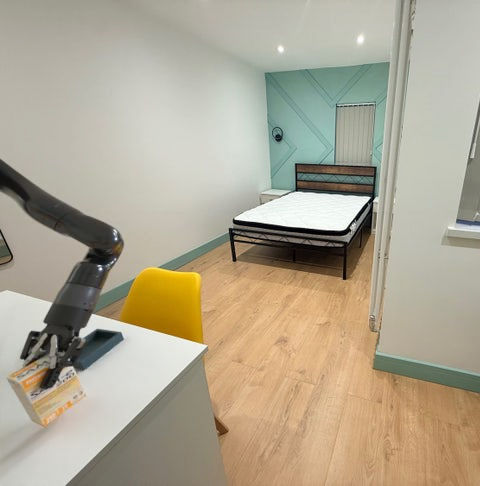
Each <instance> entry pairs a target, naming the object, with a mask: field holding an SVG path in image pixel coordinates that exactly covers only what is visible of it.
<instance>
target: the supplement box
mask: <svg viewBox="0 0 480 486" xmlns="http://www.w3.org/2000/svg"><path fill="white" fill-rule="evenodd" d="M62 353H63V352H62ZM49 354H50V353H49ZM49 354H47V355H45V356H43V357H42V358H40V359H38V360H36V361H34V362H33V363H31V364H29V365H27V366H25V365H24V367H22V368H20V369H18V370H16V371H15V372H13V373H11V374H9V375H7V376H6V377H5V379H6V380H7V382H8V383H9V385H10V387H11V389H12V391H13V392H14V393H15V395H16V397H17V399H18V400H19V402H20V403H21V405H22V407H23V409H24V410H25V412H26V413H27V415H28V417H29V419H30V420H31V421H32V422H34V423H35V424H37V425H39V426H41V427H43V428H45V427H47V426H48V425H49V424H51V423H52V422H53V421H54V420H56V419H57V418H59V416H61V415H62V414H63V413H65V412H66V411H67V410H69V409H70V408H71V407H73V406H74V405H76V404H77V403H78V402H80V401H81V400H83V399H84V398H85V397H87V394H86V391H85V389H84V387H83V385H82V382H81V381H80V379H79V376H78V374H77V372H76V370H75V368H73V366H72V367H65V368H63V369H62V371H61V373H60V375H59V377H58V380H57V382H56V383H55V385H54V386H53V387H52V388H48V389H41V388H39V386H40V384H41V382H42V380H43V378H44V376H45V374H46V372H47V370H48V369H50V363H51V358H50V357H49ZM61 359H62V357H59V359H58V362H60V360H61ZM68 360H70V359H68Z"/></svg>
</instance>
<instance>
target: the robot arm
mask: <svg viewBox="0 0 480 486" xmlns="http://www.w3.org/2000/svg"><path fill="white" fill-rule="evenodd" d="M0 193H1V194H3V195H5V196H7V197H8V198H10V199H11V200H12V201H14V202H15V203H16V204H17V205H18V206H19V208H20V209H21V210H22V211H23V213H24V214H25V215H27V217H30V219H31V220H33V221H35V222H36V223H38V224H39V225H42V226H43V227H45V228H47V229H49V230H51V231H53V232H55V233H57V234H59V235H62V236H64V237H66V238H72V239H73V240H75V241H77V242H79V243H80V244H82V245H84V246H85V247H87V248H88V250H87V251H86V253H85V255H84V256H83V258H82V260H79V261H78V262H76V263H75V264H74V266H73V267H72V269H71V270H70V272H69V274H68V275H67V278H66V280H65V282H64V284H63V285H62V287H61V288H60V289H59V291H58V292H57V294H56V296H55V298H54V300H53V301H52V304H51V305H50V307H49V309H48V311H47V313H46V314H45V317H44V318H43V321H42V322H43V324H45V325H46V326H45V327H44V328H43V329H42V330H30V331H29V332H28V335H27V338H26V340H25V343H24V344H23V348H22V350H21V354H20V356H19V359H20V360H23V361H24V364H25V365H24V367H25V366H27V365H29V364H31V363H33V362H34V361H36V360H38V359H40V358H42V357H43V356H45V355H47V354H49V353H50V354H49V357H50V358H51V363H50V369H48V370H47V372H46V374H45V376H44V378H43V380H42V382H41V384H40V386H39V388H41V389H48V388H52V387H53V386H54V385H55V383H56V382H57V380H58V377H59V375H60V373H61V371H62V369H63V368H65V367H72V366H73V365H74V364H75V363H76V361H77V359H78V358H79V356H80V355H81V353H82V351H83V350H84V348H85V347H86V345H87V343H88V342H89V340H88V339H84V337H80V332H81V329H84V328H86V327H87V326H88V324H89V321H90V319H91V317H92V315H93V313H94V310H95V309H96V306H97V304H98V302H99V300H100V296H101V293H102V290H103V288H104V286H105V284H106V282H107V280H108V277H109V274H110V272H111V270H112V269H113V267H114V266H115V264H116V263H117V262H118V260H119V258H120V257H121V255H122V253H123V250H124V248H125V240H124V238H123V236H122V234H121V232H120V231H119V230H118V229H117V228H116V227H114V226H112V225H111V224H110V223H107V222H105V221H103V220H101V219H98V218H95V217H94V216H90V215H88V214H86V213H84V212H83V211H81V210H79V209H78V208H76V207H74V206H73V205H70V204H69V203H67V202H65V201H63V200H61V199H60V198H58V197H56V196H54V195H53V194H51V193H49V192H47V190H45V189H43V188H42V187H41V186H39V185H37V184H36V183H34V182H33V181H32V180H30V179H29V178H27V177H26V176H25V175H23V174H22V173H21V172H19V171H17V169H15V168H14V167H12V166H11V165H10V164H8V163H7V162H5V161H4V160H3V159H1V158H0ZM31 348H33V349H32V350H31ZM41 348H42V349H41ZM30 351H31V352H32V353H31V354H30ZM63 351H64V353H62V352H63ZM38 355H39V357H38ZM70 356H72V358H71V359H70V360H68V359H69V358H70ZM59 357H62V359H61V360H60V362H58V359H59Z"/></svg>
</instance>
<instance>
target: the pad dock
mask: <svg viewBox="0 0 480 486" xmlns="http://www.w3.org/2000/svg"><path fill="white" fill-rule="evenodd" d="M83 338H84V339H88V340H89V342H88V343H87V345H86V347H85V348H84V350H83V351H82V353H81V355H80V356H79V358H78V359H77V361H76V363H75V364H74V365H73V368H74V369H77V370H83V371H85V370H86V369H88V368H89V367H90V366H92V365H93V364H95V363H96V362H97V361H99V359H101V358H102V357H103V356H105V355H106V354H107V353H109V352H110V351H111V350H112V349H114V348H115V347H116V346H117V345H119V344H120V343H121V342H122V341H124V340H125V338H124V336H123V333H122V332H121V331H117V330H110V329H104V328H103V329H102V328H96V329H94V330H93V331H92V332H90V333H88V334H87V335H85V336H84V337H83ZM63 353H64V351H63ZM71 358H72V356H70V358H69V359H71Z"/></svg>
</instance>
